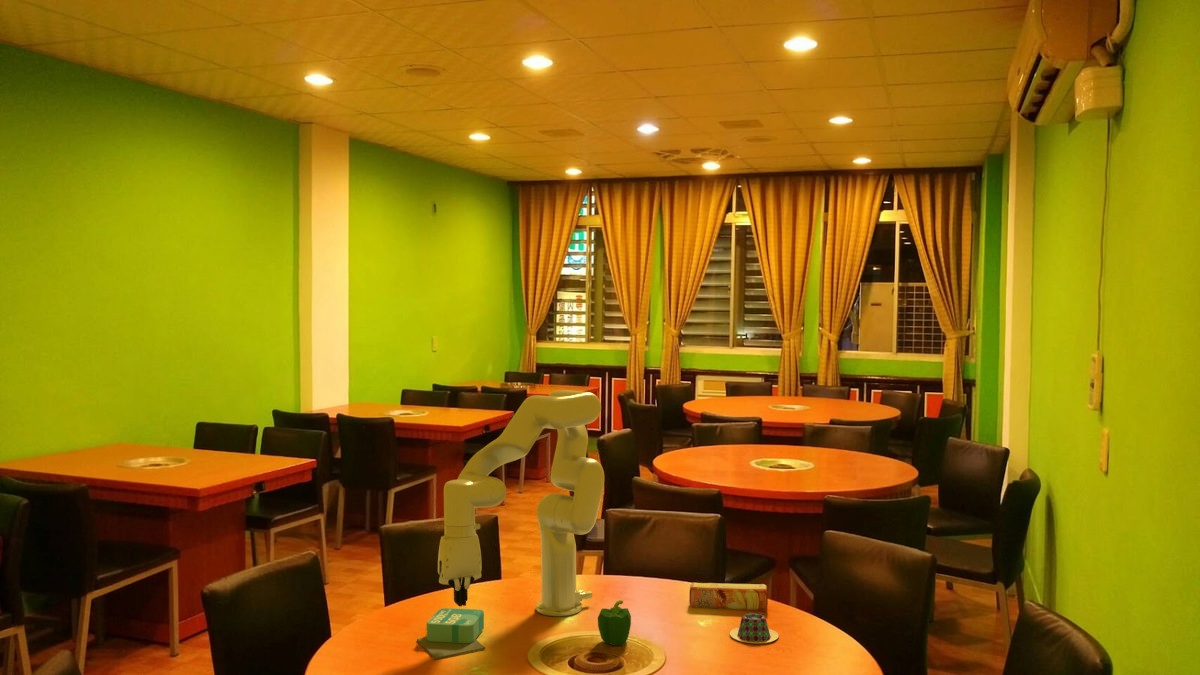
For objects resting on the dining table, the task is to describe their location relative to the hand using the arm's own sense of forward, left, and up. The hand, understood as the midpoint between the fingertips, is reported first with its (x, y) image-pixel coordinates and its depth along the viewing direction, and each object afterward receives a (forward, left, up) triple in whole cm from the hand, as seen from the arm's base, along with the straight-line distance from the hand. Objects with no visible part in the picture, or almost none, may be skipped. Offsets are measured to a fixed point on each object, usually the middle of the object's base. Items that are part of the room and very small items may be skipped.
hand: (460, 604), depth 220 cm
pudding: (-65, +33, -10) cm, 74 cm away
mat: (+3, 0, -10) cm, 10 cm away
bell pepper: (-33, +19, -10) cm, 39 cm away
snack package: (-73, +12, -10) cm, 75 cm away
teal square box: (-5, -1, -7) cm, 9 cm away
